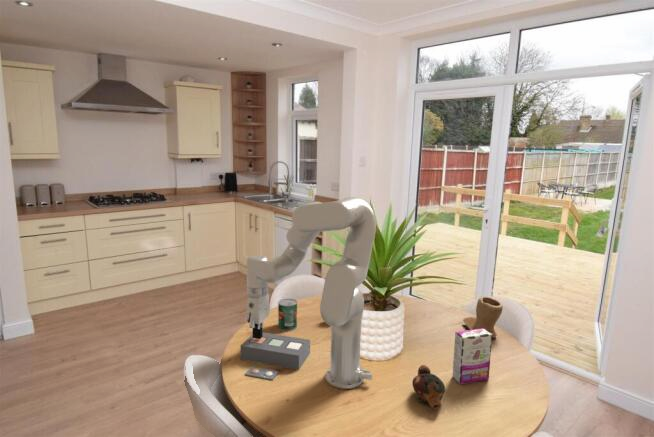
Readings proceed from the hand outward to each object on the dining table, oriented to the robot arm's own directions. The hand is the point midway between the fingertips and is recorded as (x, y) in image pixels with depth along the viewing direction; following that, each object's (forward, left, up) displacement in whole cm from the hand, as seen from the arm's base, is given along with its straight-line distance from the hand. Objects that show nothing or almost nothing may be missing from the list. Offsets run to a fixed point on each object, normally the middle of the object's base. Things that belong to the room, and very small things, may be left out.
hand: (257, 337), depth 148 cm
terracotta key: (0, 0, -3) cm, 3 cm away
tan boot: (-81, -45, -6) cm, 93 cm away
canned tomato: (-2, -24, -6) cm, 25 cm away
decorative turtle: (-61, +9, -6) cm, 62 cm away
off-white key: (-14, 0, -3) cm, 15 cm away
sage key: (-7, 0, -3) cm, 8 cm away
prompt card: (-7, +12, -6) cm, 15 cm away
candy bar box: (-74, -7, -6) cm, 75 cm away
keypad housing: (-7, 0, -6) cm, 10 cm away
